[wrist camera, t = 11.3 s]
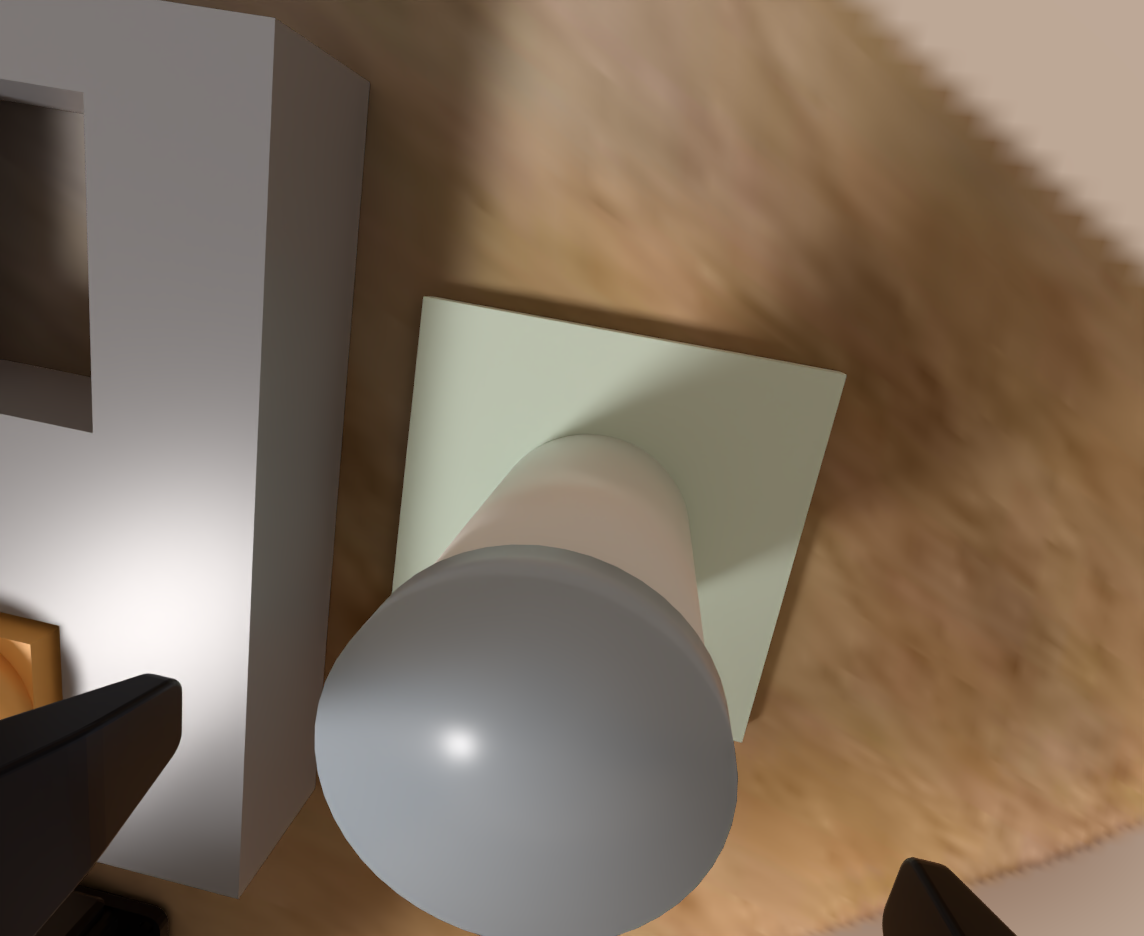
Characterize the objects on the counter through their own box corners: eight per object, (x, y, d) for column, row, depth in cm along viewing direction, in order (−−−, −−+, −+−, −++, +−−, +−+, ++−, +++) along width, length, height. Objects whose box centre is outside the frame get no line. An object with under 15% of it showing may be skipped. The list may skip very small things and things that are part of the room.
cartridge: (672, 648, 18) (684, 987, 9) (472, 604, 18) (301, 889, 10) (719, 449, 16) (788, 630, 8) (500, 406, 17) (330, 533, 8)
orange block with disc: (155, 693, 21) (16, 804, 16) (33, 664, 21) (-135, 765, 16) (155, 573, 19) (6, 658, 15) (26, 544, 20) (-156, 618, 15)
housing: (314, 788, 21) (238, 898, 18) (-89, 688, 22) (-243, 771, 19) (369, 82, 16) (275, 17, 12) (-171, -4, 17) (-416, -89, 13)
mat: (739, 728, 19) (742, 742, 18) (392, 649, 20) (384, 660, 19) (840, 371, 16) (846, 374, 15) (431, 296, 17) (423, 296, 16)
